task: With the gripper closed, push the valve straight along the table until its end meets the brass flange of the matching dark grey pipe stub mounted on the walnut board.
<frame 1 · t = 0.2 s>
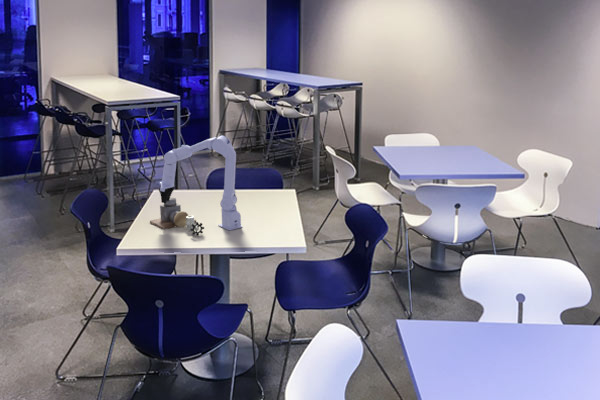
hand: (165, 201, 306), 11 cm above the table, tool pointing down, fingers open, 3 cm apart
valve: (193, 232, 298), on the table
pipe stand: (173, 222, 311), on the table
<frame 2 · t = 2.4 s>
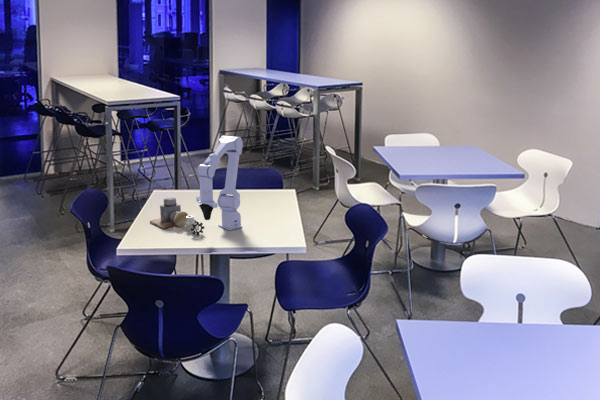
hand: (207, 219, 285), 9 cm above the table, tool pointing down, fingers closed
nothing on the table moved.
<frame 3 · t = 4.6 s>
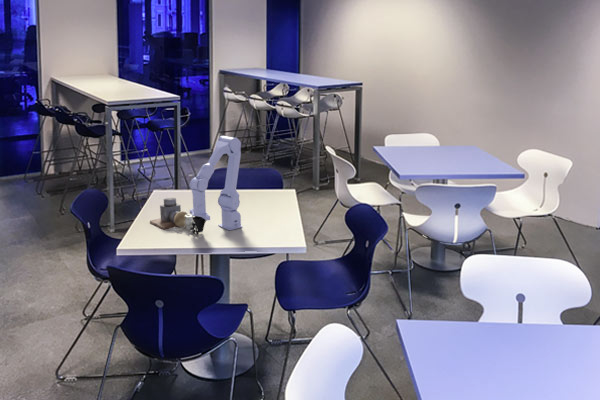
hand: (200, 231, 292), 2 cm above the table, tool pointing down, fingers closed
valve: (192, 231, 299), on the table, touching gripper
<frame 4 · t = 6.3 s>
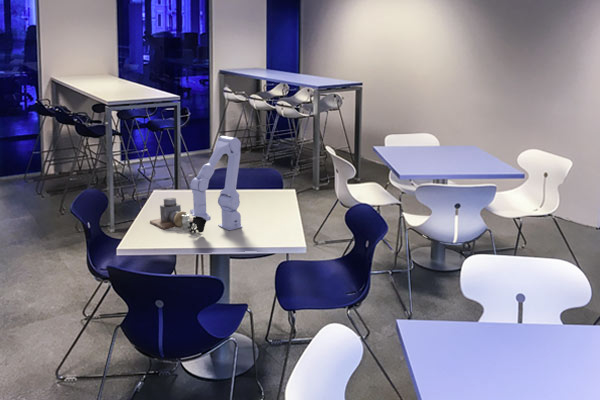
hand: (200, 231, 292), 2 cm above the table, tool pointing down, fingers closed
valve: (189, 230, 301), on the table, touching pipe stand
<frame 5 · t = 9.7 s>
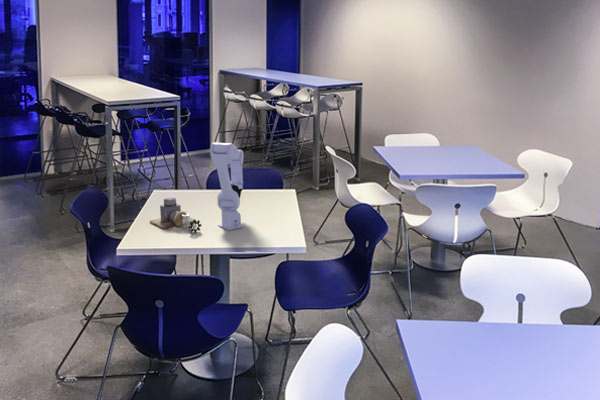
hand: (237, 199, 318), 9 cm above the table, tool pointing down, fingers closed
valve: (189, 230, 301), on the table
at the end: valve 1.0 cm from the target spot on the table beside the pipe stand, on the table; valve tilted 0° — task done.
